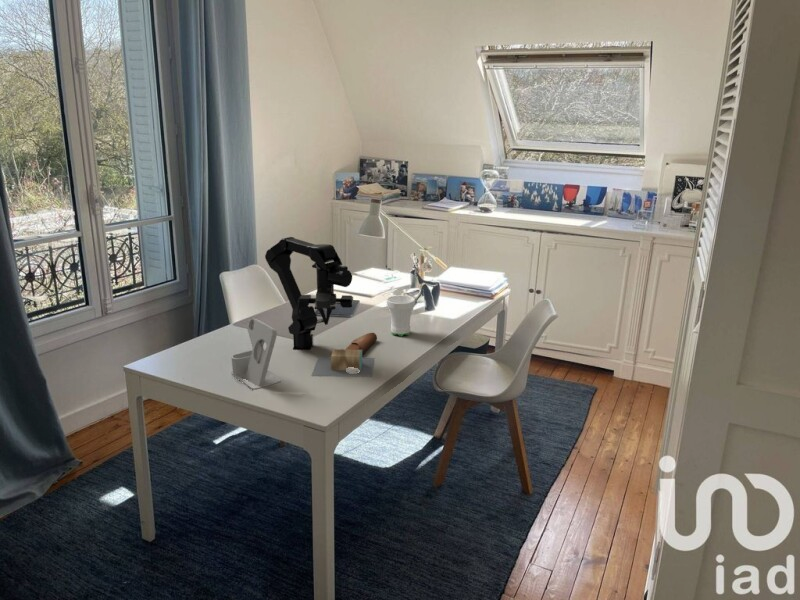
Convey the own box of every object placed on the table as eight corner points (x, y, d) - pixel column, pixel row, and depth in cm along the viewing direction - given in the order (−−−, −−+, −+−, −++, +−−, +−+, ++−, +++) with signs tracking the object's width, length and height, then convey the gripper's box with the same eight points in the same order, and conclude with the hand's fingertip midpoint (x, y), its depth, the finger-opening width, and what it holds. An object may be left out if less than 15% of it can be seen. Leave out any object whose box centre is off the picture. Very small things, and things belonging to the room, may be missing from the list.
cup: (413, 328, 244) (414, 295, 240) (415, 338, 234) (416, 303, 230) (386, 328, 244) (386, 295, 240) (386, 338, 233) (386, 303, 229)
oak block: (331, 356, 202) (360, 356, 202) (333, 349, 208) (362, 349, 208) (331, 370, 204) (361, 370, 203) (333, 362, 209) (362, 363, 209)
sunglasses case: (356, 338, 233) (364, 325, 231) (371, 348, 233) (379, 335, 230) (339, 355, 217) (348, 341, 214) (355, 366, 216) (364, 352, 214)
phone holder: (229, 373, 201) (225, 322, 196) (257, 365, 208) (254, 316, 202) (253, 391, 189) (249, 337, 183) (282, 382, 195) (279, 330, 189)
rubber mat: (311, 377, 199) (311, 375, 199) (318, 358, 214) (318, 357, 214) (372, 377, 199) (372, 376, 199) (374, 358, 214) (374, 357, 214)
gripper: (293, 287, 200) (295, 332, 205) (350, 288, 200) (350, 332, 205) (299, 279, 211) (301, 321, 215) (353, 279, 211) (353, 321, 215)
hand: (326, 324), depth 212 cm, fingers closed
